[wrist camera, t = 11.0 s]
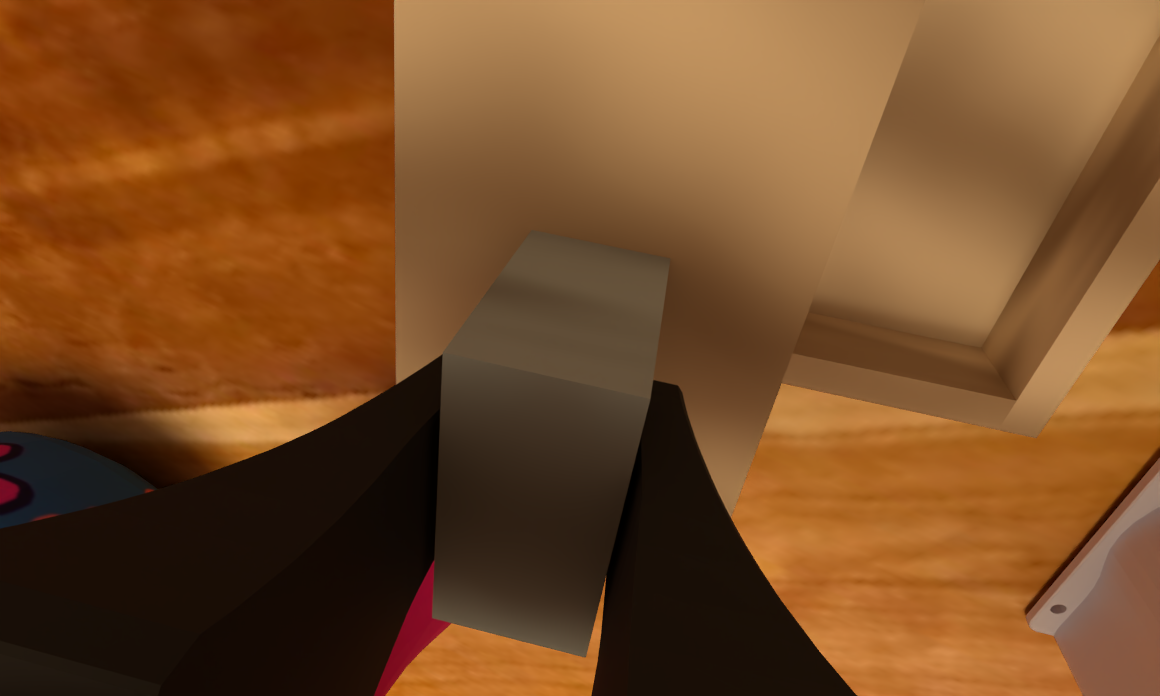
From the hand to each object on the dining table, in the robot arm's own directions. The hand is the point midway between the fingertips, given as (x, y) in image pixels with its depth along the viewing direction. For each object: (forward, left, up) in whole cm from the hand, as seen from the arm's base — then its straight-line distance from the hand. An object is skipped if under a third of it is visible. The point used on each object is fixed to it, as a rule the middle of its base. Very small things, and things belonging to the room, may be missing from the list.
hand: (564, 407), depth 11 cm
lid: (+2, 0, -2) cm, 3 cm away
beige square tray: (+3, -8, -10) cm, 13 cm away
